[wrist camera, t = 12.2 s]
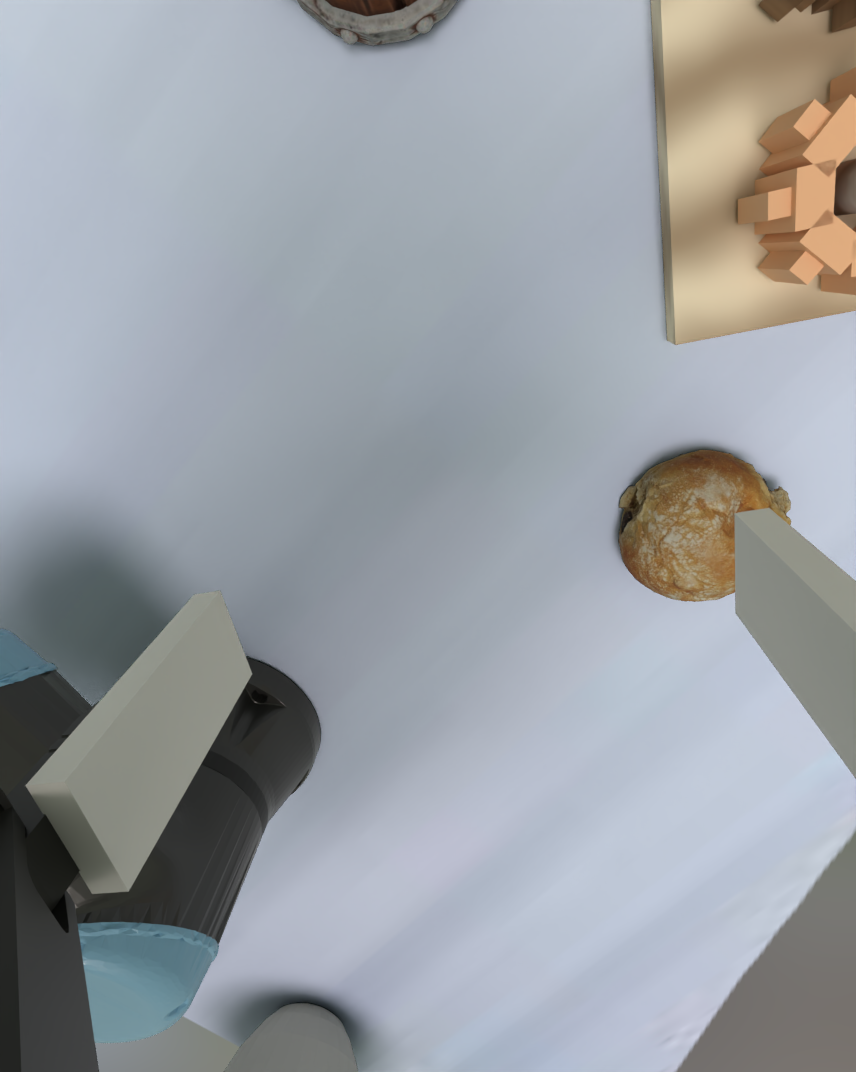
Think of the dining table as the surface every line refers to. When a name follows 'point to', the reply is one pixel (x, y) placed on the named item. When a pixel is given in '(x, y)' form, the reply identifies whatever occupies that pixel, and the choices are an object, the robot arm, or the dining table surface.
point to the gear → (806, 193)
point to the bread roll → (691, 523)
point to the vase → (296, 1043)
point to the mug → (377, 18)
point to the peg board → (737, 151)
